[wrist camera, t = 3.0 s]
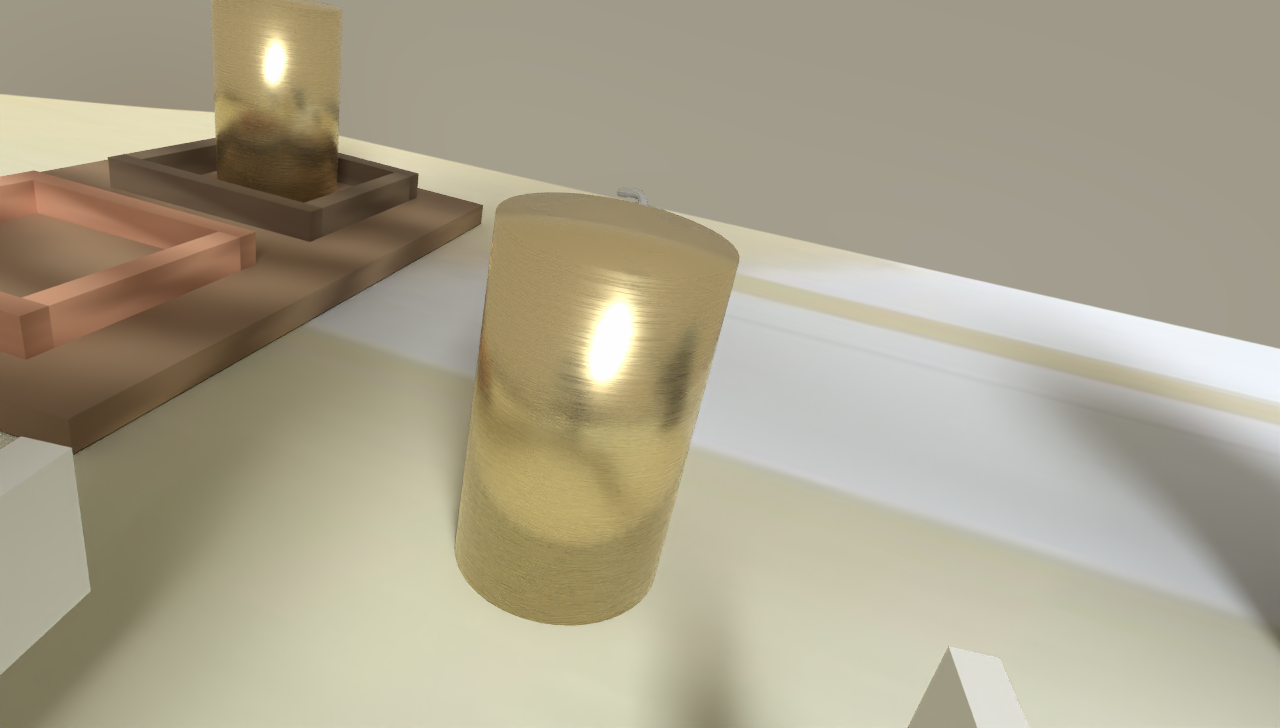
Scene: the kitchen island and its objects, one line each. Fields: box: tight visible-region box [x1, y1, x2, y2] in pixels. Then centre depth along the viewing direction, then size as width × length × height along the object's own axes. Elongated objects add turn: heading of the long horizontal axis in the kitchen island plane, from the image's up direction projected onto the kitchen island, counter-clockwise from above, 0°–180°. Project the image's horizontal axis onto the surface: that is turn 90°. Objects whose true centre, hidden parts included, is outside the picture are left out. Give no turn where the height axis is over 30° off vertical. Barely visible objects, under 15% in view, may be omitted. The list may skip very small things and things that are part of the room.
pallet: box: [0, 138, 483, 454], centre depth 37 cm, size 30×18×3 cm, turn 167°
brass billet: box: [455, 193, 739, 625], centre depth 21 cm, size 6×6×10 cm
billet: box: [211, 0, 342, 203], centre depth 41 cm, size 6×6×10 cm
